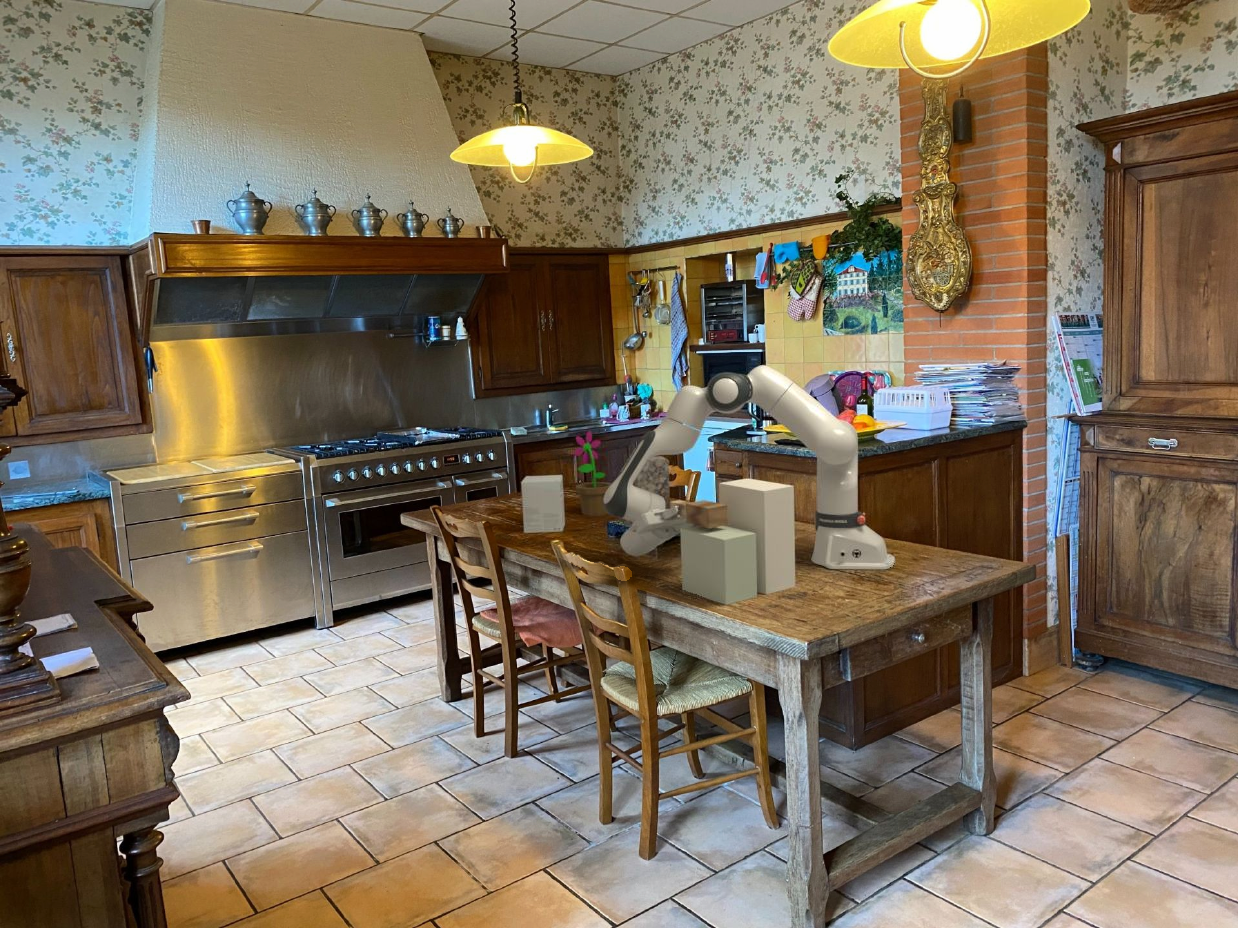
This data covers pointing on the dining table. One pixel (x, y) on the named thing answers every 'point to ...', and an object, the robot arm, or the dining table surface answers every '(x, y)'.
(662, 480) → the stone block
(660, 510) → the robot arm
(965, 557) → the dining table surface
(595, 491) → the flowerpot
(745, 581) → the stand
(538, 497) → the supplement box
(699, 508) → the mallet
